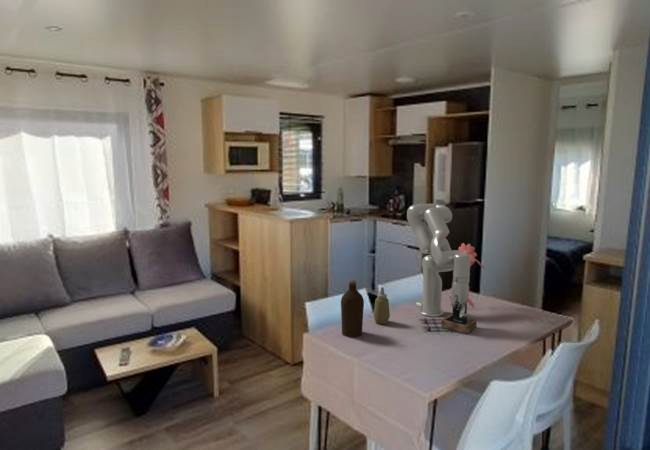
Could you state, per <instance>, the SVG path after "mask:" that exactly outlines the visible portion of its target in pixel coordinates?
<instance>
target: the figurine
mask: <svg viewBox="0 0 650 450" xmlns="http://www.w3.org/2000/svg"><path fill="white" fill-rule="evenodd" d="M458 250H459V251H461V252H462V253H465V254H468V255H470V268H471V267H472V266H473V264H474V263H475V262H476V263H477V264H478V265H479V266H480V267H481V268H482V269H484V270H486V268H485V266H484V265H483V264H482V263H481V262H480V261H479V260H478V259H477V258H476V257H477V256H478V254H477V252H475V250H476V249H475V247H474V246H472V245H471V243H468V244H467V245H466V244H465V243H464V242H463V243H461V244H460V246H459V247H458ZM452 287H453V283H451V288H452ZM468 289H470V285H469V284H468ZM451 295H452V293H451V294H450V296H449V299H450V300H451ZM469 295H470V290H468V300H467V304H468V305H469V306H471V307H472V308H474V304H476V305H477V303H476V302H473V301H472V299H470V298H469ZM451 305H452V303H451V302H450V303H449V306H451Z"/></svg>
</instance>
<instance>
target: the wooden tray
mask: <svg viewBox="0 0 650 450" xmlns="http://www.w3.org/2000/svg"><path fill="white" fill-rule="evenodd" d="M452 317H453V314H449V315H448V316H446V317H445V318H442V319H441V329H442V328H443V329H442V330H446V329H447V330H446V331H450V332H455V333H459V334H463V335H467V336H468V335H470V334H471V333H472V332H473V331H475V330H476V329H477V328H478V327H477V324H478V320H477V319H473V318H469V317H467V323H466V324H465V325H463V324H458V323H454V322H452Z"/></svg>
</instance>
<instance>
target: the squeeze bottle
mask: <svg viewBox="0 0 650 450" xmlns="http://www.w3.org/2000/svg"><path fill="white" fill-rule="evenodd" d="M376 296H377V297H376V298H375V301H374V306H373V307H374V310H373V319H374V322H375V323H376V324H378V325H387V324H388V322H389V320H390V317H391V315H390V314H391V313H390V300H389V299H388V298H387V296H388V295H387V294H386V293H385V289H384V287H383V286H382V287H380V289H379V293H377V295H376Z"/></svg>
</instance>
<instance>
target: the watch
mask: <svg viewBox="0 0 650 450" xmlns="http://www.w3.org/2000/svg"><path fill="white" fill-rule="evenodd" d="M456 303H459V302H456ZM457 307H458V305H457ZM465 308H466V307H465V302H464V303H463V304H461V305H460V307H459V310H460V315H459V318H455V317H452V322H454V323H458V324H463V325H465V324H466V323H467V318H468V317H467V316H465V314H466V313H465Z"/></svg>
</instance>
